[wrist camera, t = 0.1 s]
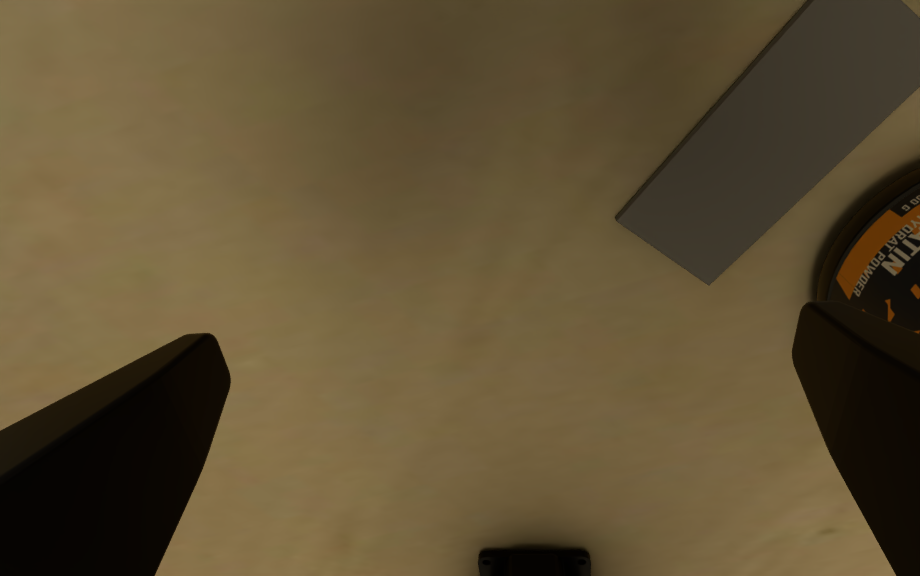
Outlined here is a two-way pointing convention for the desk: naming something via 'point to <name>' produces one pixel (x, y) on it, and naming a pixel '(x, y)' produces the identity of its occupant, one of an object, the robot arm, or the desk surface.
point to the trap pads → (778, 131)
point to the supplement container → (879, 257)
